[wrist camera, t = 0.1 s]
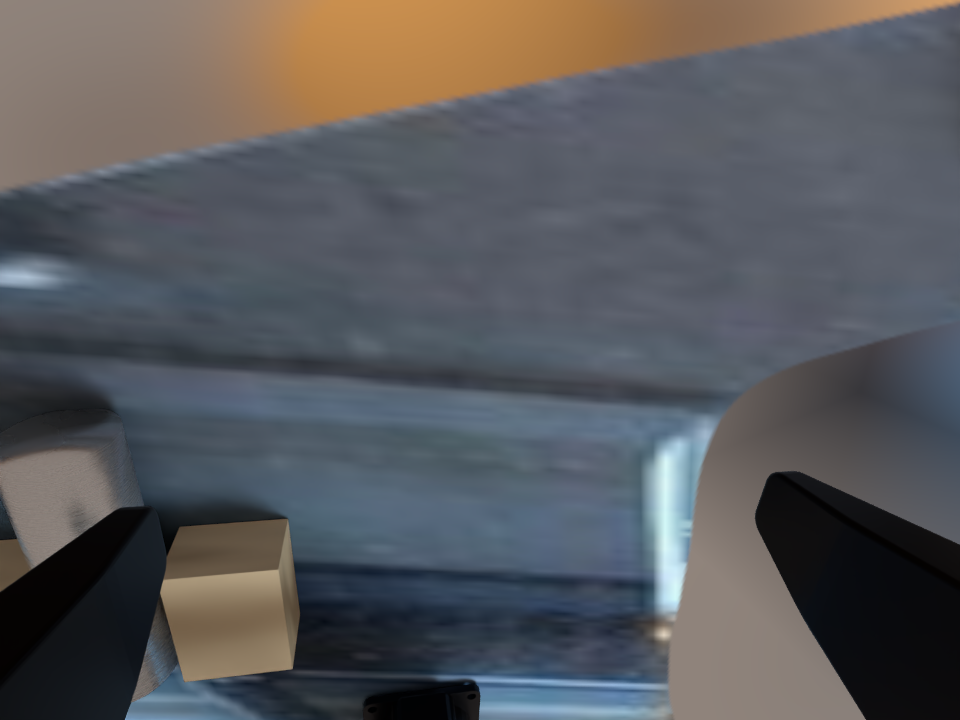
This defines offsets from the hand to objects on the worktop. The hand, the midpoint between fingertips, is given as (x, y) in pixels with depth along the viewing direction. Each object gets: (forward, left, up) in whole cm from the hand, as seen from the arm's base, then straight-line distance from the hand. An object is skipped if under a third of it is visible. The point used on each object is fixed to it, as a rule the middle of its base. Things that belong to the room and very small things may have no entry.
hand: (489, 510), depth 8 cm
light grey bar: (-12, +13, -15) cm, 23 cm away
